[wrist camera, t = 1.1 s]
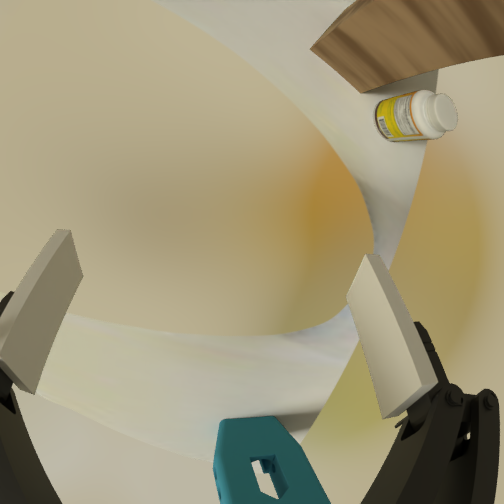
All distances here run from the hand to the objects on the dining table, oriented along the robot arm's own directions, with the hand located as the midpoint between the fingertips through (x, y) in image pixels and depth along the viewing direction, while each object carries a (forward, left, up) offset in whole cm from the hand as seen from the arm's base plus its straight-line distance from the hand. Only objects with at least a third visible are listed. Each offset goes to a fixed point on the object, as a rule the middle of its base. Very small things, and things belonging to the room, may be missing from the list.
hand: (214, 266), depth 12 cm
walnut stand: (-11, +26, -18) cm, 33 cm away
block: (+31, -9, -18) cm, 37 cm away
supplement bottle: (0, +26, -18) cm, 32 cm away
